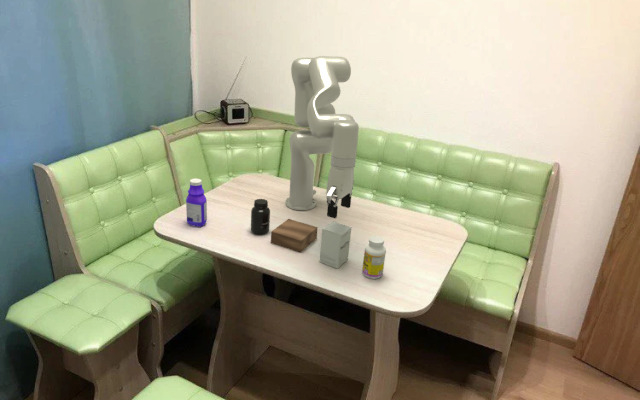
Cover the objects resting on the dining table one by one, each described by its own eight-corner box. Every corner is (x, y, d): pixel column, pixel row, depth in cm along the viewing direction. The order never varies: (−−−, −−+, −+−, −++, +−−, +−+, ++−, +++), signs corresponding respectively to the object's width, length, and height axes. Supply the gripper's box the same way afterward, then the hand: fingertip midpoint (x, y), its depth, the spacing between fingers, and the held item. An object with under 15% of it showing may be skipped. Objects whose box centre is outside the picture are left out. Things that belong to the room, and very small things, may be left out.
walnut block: (288, 230, 183) (288, 218, 181) (316, 239, 178) (317, 227, 176) (270, 243, 173) (271, 231, 171) (300, 253, 168) (301, 240, 166)
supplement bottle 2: (360, 268, 162) (364, 233, 156) (380, 268, 162) (385, 234, 157) (363, 279, 156) (368, 244, 150) (384, 280, 156) (389, 244, 151)
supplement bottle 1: (266, 236, 177) (267, 206, 172) (248, 233, 178) (248, 203, 173) (271, 228, 183) (272, 199, 178) (254, 225, 184) (254, 196, 179)
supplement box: (337, 269, 160) (341, 235, 155) (318, 261, 164) (321, 228, 158) (348, 260, 166) (352, 226, 161) (330, 253, 169) (332, 220, 164)
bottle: (209, 222, 184) (208, 179, 177) (202, 228, 179) (200, 184, 172) (192, 218, 185) (190, 175, 178) (184, 225, 180) (182, 181, 173)
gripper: (344, 151, 159) (340, 200, 165) (318, 165, 145) (315, 218, 151) (365, 156, 156) (360, 205, 162) (341, 171, 141) (337, 224, 148)
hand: (338, 211), depth 157 cm, fingers open, 9 cm apart
